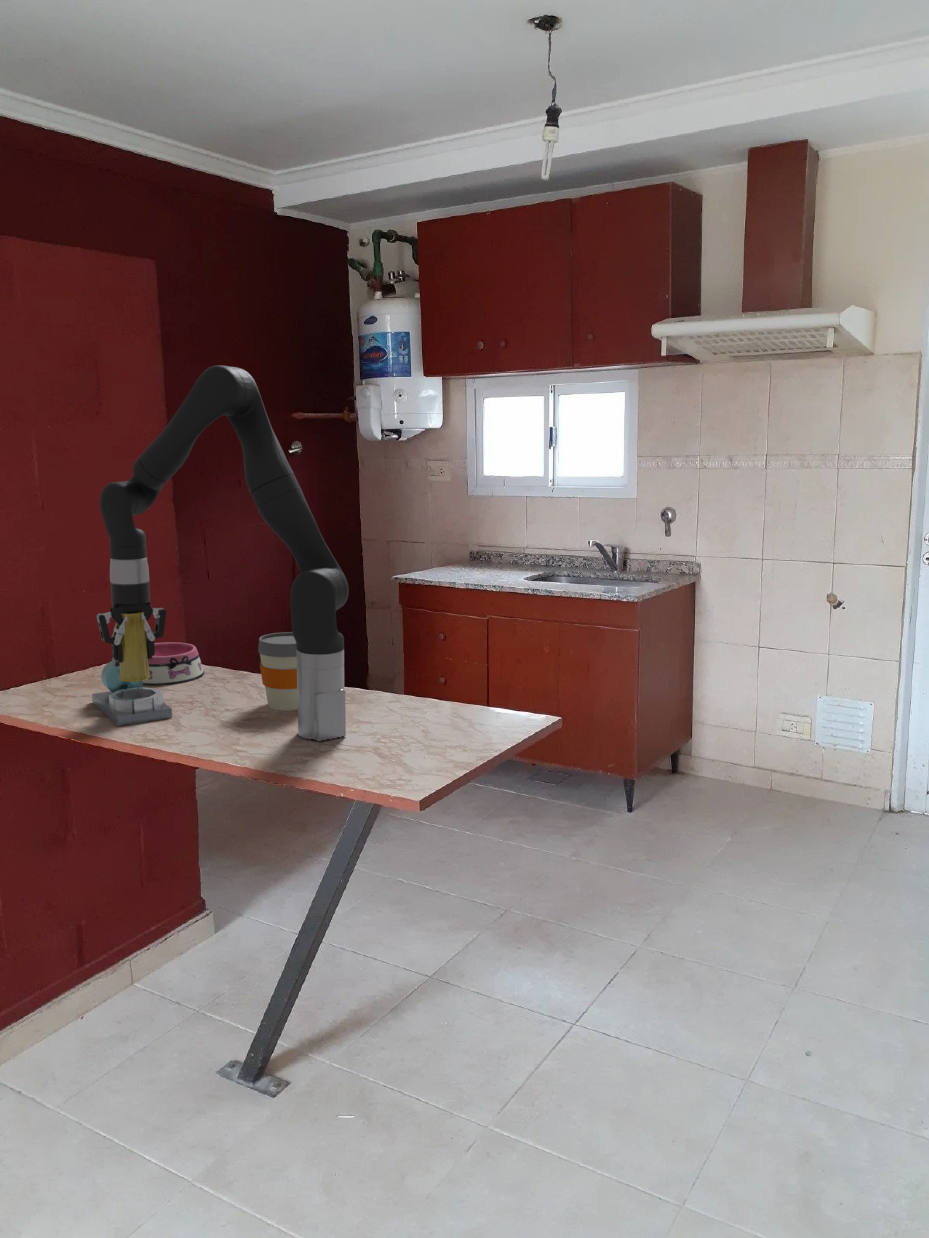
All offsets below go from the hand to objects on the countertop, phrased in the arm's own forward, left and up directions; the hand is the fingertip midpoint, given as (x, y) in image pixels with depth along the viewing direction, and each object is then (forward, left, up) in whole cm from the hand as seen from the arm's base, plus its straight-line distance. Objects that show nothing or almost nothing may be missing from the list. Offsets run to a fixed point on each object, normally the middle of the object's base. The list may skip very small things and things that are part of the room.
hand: (134, 659), depth 200 cm
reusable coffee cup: (-10, -30, -12) cm, 34 cm away
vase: (0, 0, -4) cm, 4 cm away
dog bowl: (+29, -15, -12) cm, 35 cm away
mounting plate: (+4, 0, -12) cm, 13 cm away
